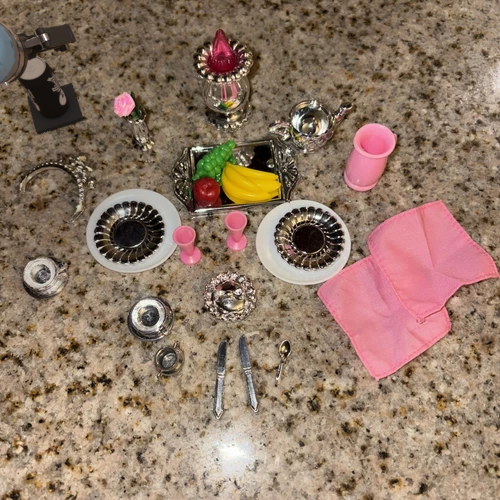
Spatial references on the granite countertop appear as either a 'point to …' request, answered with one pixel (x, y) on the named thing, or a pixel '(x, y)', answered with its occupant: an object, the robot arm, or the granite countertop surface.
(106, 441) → the granite countertop surface
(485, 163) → the granite countertop surface
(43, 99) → the beverage can
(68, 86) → the mat
